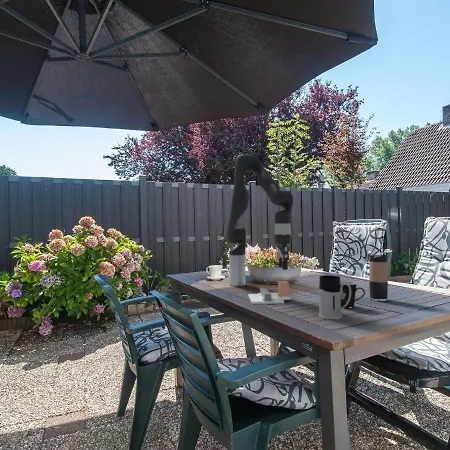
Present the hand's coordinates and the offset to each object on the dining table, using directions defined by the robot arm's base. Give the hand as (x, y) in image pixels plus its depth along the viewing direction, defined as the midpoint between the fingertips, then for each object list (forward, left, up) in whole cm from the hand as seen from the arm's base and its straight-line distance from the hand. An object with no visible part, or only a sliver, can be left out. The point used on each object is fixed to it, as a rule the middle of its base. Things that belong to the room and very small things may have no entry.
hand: (283, 268), depth 155 cm
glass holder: (+32, +13, -15) cm, 37 cm away
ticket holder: (0, -8, -14) cm, 17 cm away
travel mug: (+5, +43, -15) cm, 45 cm away
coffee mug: (+17, +24, -15) cm, 32 cm away
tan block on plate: (0, 0, -13) cm, 13 cm away
